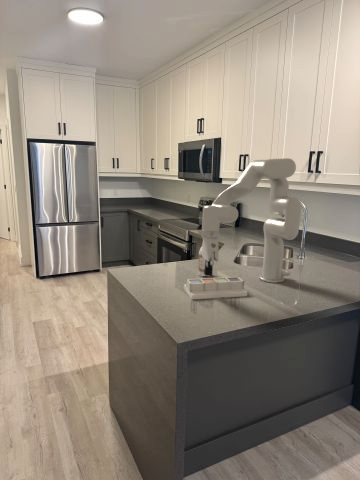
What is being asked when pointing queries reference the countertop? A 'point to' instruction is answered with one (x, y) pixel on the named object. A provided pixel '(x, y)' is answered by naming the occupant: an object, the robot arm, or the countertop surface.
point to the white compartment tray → (215, 288)
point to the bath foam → (201, 264)
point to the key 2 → (220, 280)
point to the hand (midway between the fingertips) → (208, 274)
